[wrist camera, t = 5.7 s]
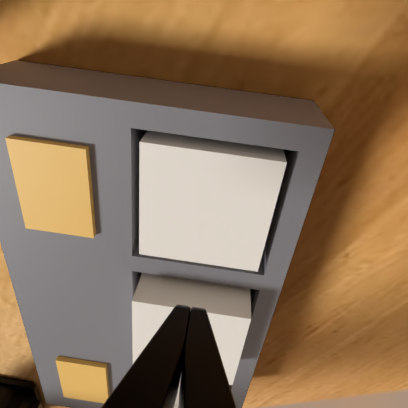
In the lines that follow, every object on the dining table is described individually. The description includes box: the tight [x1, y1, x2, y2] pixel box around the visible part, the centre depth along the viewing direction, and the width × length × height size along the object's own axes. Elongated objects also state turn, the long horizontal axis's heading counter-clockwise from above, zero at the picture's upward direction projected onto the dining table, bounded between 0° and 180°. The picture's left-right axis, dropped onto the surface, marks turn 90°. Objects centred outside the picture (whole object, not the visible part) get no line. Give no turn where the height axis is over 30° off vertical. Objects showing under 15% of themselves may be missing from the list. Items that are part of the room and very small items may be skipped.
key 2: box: [139, 130, 287, 272], centre depth 15 cm, size 6×6×2 cm
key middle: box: [132, 273, 251, 385], centre depth 18 cm, size 6×6×2 cm
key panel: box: [0, 60, 335, 408], centre depth 20 cm, size 23×14×4 cm, turn 174°
